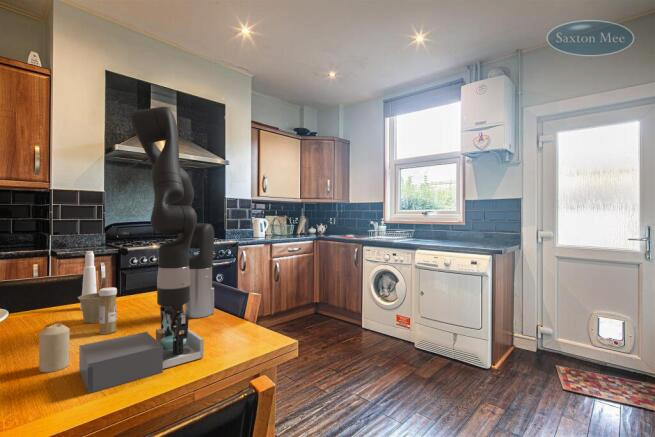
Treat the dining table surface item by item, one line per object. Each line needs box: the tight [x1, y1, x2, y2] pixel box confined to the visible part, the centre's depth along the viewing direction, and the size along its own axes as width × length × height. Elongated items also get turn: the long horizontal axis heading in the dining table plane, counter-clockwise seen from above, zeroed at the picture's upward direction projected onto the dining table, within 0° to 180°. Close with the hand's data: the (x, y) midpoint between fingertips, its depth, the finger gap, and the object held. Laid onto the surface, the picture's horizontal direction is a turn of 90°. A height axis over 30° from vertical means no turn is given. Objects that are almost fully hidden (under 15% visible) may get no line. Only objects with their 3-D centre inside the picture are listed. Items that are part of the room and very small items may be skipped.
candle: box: [38, 322, 70, 374], centre depth 79 cm, size 6×6×10 cm
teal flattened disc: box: [160, 336, 186, 350], centre depth 84 cm, size 6×6×2 cm
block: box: [155, 328, 165, 343], centre depth 94 cm, size 4×4×4 cm
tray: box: [163, 328, 205, 370], centre depth 84 cm, size 13×11×5 cm
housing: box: [78, 331, 164, 394], centre depth 77 cm, size 14×13×6 cm
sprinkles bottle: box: [98, 287, 118, 335], centre depth 103 cm, size 5×5×14 cm
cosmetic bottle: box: [79, 250, 98, 311], centre depth 129 cm, size 6×6×22 cm
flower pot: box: [77, 292, 100, 324], centre depth 114 cm, size 9×9×9 cm
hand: (173, 350), depth 85 cm, fingers closed on teal flattened disc, 6 cm apart
